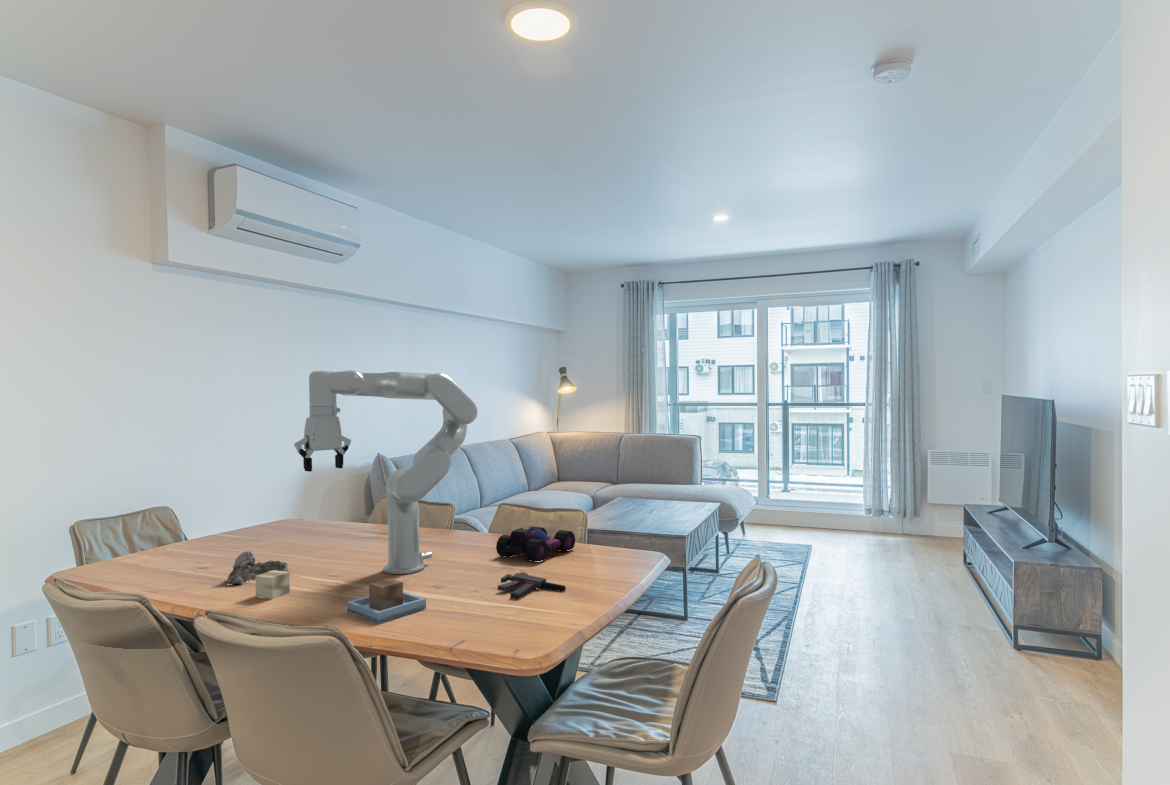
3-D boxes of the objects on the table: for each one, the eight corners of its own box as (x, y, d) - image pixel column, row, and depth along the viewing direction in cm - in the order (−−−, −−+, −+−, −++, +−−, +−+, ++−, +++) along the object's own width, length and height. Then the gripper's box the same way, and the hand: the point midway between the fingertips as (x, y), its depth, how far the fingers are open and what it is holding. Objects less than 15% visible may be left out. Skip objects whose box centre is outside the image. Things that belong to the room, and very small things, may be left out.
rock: (231, 585, 187) (229, 551, 190) (219, 592, 194) (218, 559, 197) (294, 577, 200) (291, 545, 203) (281, 583, 207) (279, 552, 210)
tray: (394, 598, 175) (394, 588, 175) (426, 608, 166) (426, 598, 166) (347, 611, 164) (346, 602, 164) (378, 623, 155) (377, 613, 155)
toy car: (577, 549, 228) (577, 521, 228) (533, 566, 207) (532, 535, 207) (539, 544, 237) (539, 517, 238) (493, 559, 216) (493, 529, 216)
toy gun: (545, 598, 169) (570, 580, 182) (484, 585, 176) (512, 568, 190) (545, 610, 169) (569, 590, 183) (484, 596, 176) (512, 578, 190)
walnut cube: (389, 601, 169) (389, 578, 169) (403, 605, 166) (402, 582, 166) (369, 607, 165) (368, 583, 165) (382, 611, 161) (382, 587, 161)
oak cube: (273, 591, 183) (272, 570, 183) (289, 593, 181) (289, 571, 181) (255, 597, 178) (255, 575, 178) (272, 599, 176) (272, 577, 176)
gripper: (343, 411, 202) (344, 466, 202) (288, 413, 188) (289, 471, 188) (356, 411, 197) (357, 467, 197) (301, 413, 184) (301, 473, 184)
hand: (323, 469), depth 193 cm, fingers open, 9 cm apart
